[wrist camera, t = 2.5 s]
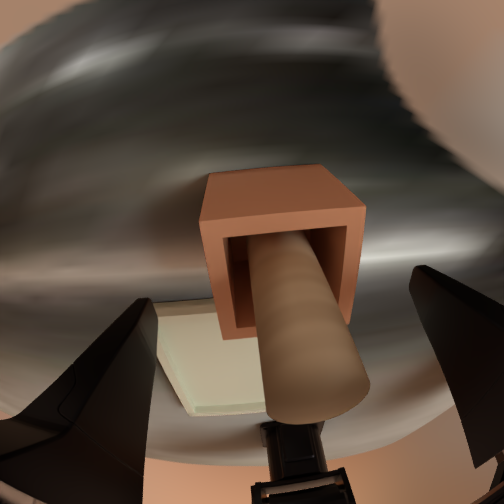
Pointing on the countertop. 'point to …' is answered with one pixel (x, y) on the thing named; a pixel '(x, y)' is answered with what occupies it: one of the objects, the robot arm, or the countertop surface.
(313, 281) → the pin
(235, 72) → the countertop surface
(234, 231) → the orange open box
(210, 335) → the tray
